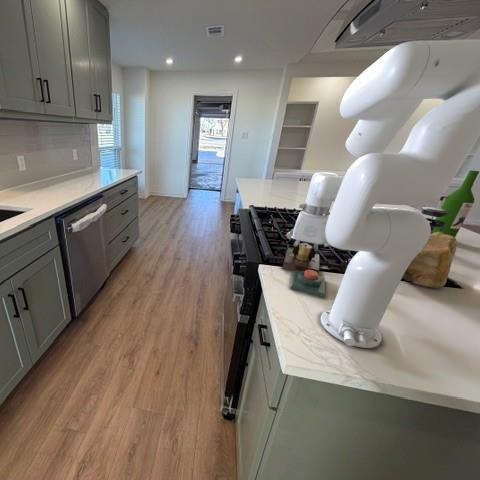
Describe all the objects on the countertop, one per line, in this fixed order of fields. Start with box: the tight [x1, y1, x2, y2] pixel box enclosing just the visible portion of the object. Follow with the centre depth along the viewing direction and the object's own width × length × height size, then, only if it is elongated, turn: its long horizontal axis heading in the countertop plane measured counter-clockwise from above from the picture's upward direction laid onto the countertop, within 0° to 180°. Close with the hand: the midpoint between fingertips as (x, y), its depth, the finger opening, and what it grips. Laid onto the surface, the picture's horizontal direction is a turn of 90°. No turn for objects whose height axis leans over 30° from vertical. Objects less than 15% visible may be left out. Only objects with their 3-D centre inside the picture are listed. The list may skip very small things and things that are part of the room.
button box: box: [290, 270, 326, 299], centre depth 82 cm, size 11×9×4 cm
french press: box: [420, 194, 451, 234], centre depth 110 cm, size 12×9×23 cm
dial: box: [296, 242, 314, 261], centre depth 92 cm, size 4×4×5 cm
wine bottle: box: [432, 169, 480, 239], centre depth 117 cm, size 9×9×32 cm
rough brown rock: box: [402, 232, 458, 289], centre depth 89 cm, size 23×17×15 cm
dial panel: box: [282, 247, 320, 274], centre depth 94 cm, size 14×11×3 cm
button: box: [304, 270, 319, 280], centre depth 81 cm, size 4×4×2 cm
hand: (302, 256), depth 93 cm, fingers closed on dial, 4 cm apart
